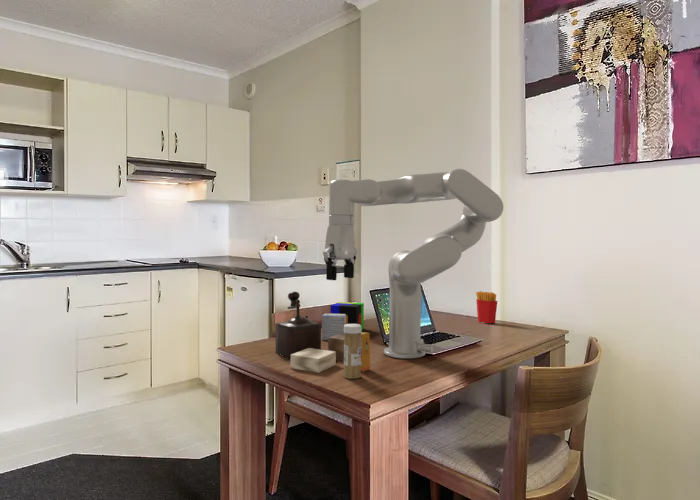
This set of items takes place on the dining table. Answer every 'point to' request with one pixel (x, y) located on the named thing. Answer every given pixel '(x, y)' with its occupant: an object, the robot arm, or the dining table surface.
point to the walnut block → (337, 346)
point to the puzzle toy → (350, 312)
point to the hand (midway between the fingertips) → (340, 278)
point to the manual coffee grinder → (297, 331)
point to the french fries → (486, 307)
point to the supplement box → (365, 351)
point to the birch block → (313, 360)
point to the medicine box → (333, 325)
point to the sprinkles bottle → (352, 351)
